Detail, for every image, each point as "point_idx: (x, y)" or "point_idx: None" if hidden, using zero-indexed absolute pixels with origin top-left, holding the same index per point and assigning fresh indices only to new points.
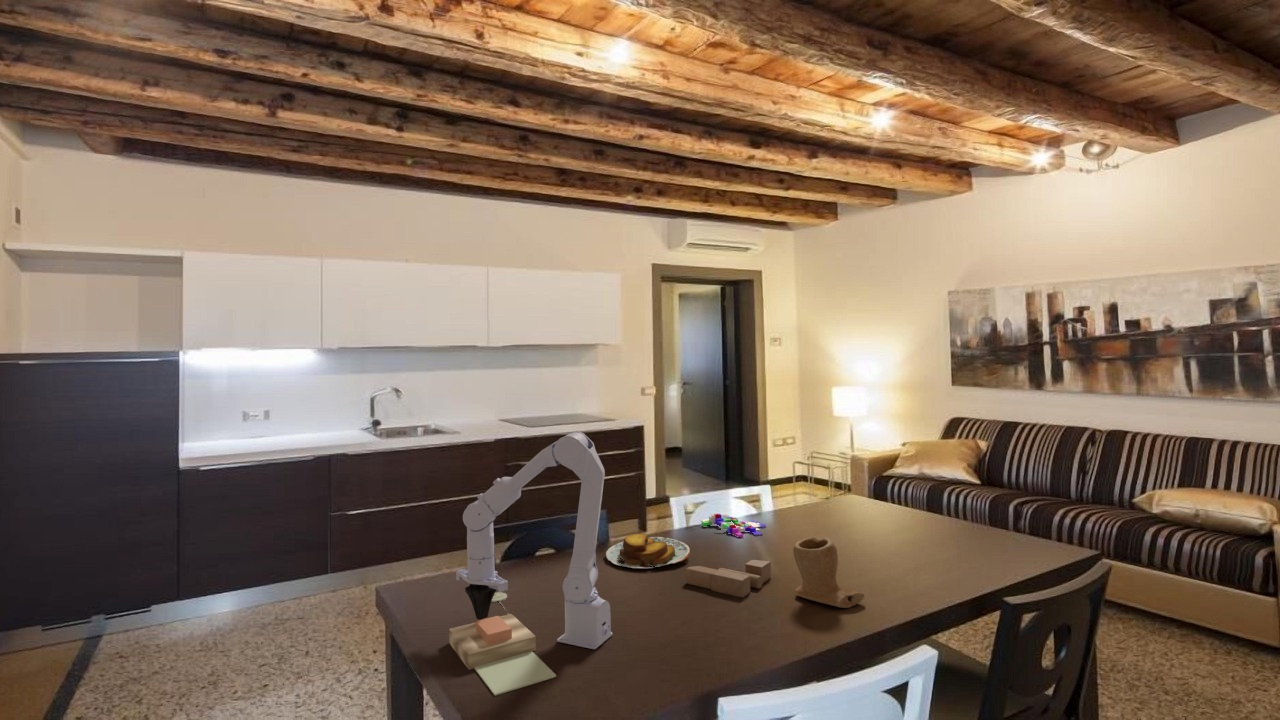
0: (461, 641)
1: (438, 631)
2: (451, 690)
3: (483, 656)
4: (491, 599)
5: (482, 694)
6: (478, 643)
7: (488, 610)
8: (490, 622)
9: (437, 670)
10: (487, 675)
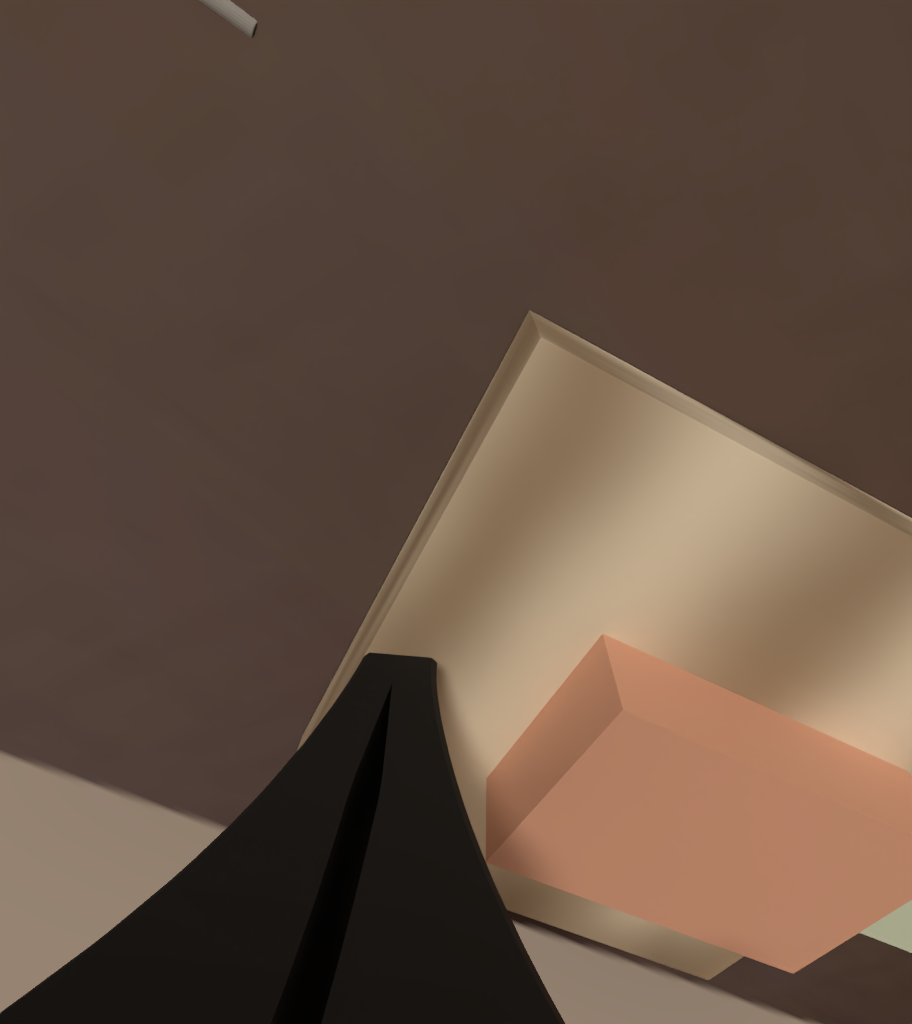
0: (530, 907)
1: (65, 653)
2: (721, 983)
3: None
4: (476, 850)
5: (891, 969)
6: None
7: (438, 713)
8: (656, 839)
9: (522, 917)
10: None
